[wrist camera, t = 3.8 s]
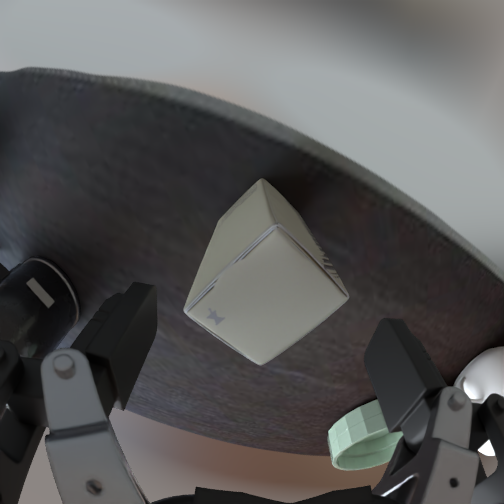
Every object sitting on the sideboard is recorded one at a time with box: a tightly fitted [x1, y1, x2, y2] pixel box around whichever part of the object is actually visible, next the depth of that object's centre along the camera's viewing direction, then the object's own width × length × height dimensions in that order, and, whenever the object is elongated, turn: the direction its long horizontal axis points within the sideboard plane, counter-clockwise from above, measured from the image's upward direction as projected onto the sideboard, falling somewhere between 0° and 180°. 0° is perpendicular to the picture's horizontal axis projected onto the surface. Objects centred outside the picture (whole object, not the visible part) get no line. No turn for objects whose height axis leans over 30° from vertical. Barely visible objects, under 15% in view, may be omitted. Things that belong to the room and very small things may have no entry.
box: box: [184, 178, 349, 365], centre depth 16 cm, size 5×4×13 cm
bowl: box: [328, 399, 403, 470], centre depth 31 cm, size 15×15×6 cm
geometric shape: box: [478, 440, 495, 456], centre depth 31 cm, size 14×15×15 cm
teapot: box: [454, 347, 504, 404], centre depth 26 cm, size 22×14×11 cm, turn 72°
